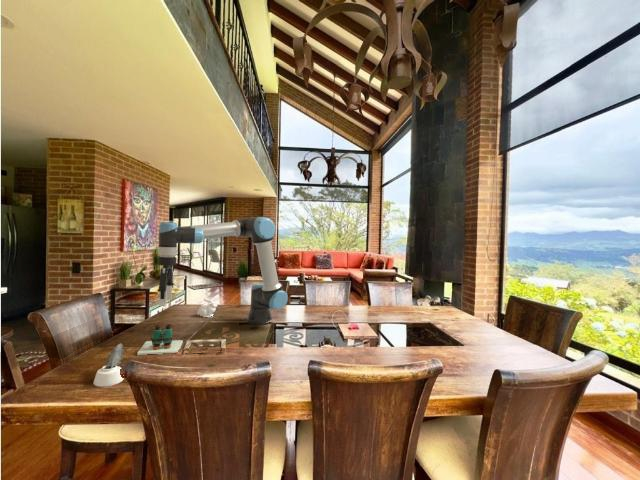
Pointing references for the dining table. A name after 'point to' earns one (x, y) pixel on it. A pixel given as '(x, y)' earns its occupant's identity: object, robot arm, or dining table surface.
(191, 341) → the frame
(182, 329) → the dining table surface
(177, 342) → the pad
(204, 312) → the rabbit
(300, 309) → the dining table surface
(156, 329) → the binoculars
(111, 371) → the inkwell
